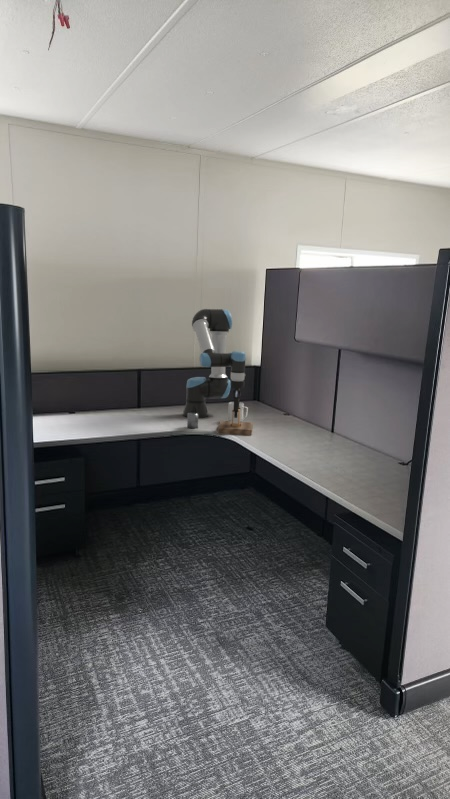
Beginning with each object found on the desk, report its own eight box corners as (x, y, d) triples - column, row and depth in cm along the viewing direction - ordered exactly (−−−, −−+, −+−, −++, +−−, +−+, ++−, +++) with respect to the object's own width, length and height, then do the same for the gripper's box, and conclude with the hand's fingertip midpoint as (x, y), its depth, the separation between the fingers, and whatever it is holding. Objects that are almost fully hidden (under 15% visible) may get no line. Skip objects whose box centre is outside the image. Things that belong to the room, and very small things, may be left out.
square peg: (231, 431, 296) (232, 410, 294) (232, 430, 300) (232, 408, 298) (238, 432, 296) (239, 410, 293) (239, 430, 300) (240, 409, 297)
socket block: (217, 433, 289) (217, 428, 289) (220, 426, 307) (220, 420, 307) (251, 435, 288) (251, 429, 288) (252, 427, 306) (252, 422, 305)
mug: (225, 422, 318) (225, 403, 316) (232, 419, 325) (233, 401, 323) (243, 424, 312) (244, 406, 310) (250, 422, 319) (251, 403, 317)
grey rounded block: (185, 427, 301) (185, 413, 300) (193, 426, 305) (193, 412, 304) (191, 429, 297) (191, 415, 295) (200, 428, 301) (200, 414, 299)
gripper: (243, 382, 283) (241, 426, 288) (245, 378, 301) (243, 419, 305) (229, 382, 284) (227, 425, 288) (231, 377, 302) (230, 418, 306)
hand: (235, 422), depth 297 cm, fingers open, 5 cm apart
